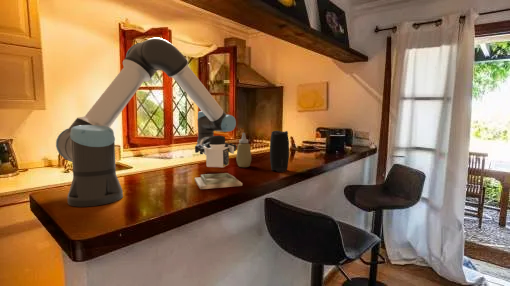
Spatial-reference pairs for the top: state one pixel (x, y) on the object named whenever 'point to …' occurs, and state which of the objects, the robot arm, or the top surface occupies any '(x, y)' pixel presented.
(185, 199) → the top surface
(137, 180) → the top surface
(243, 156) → the squeeze bottle
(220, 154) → the medicine bottle
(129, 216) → the top surface
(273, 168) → the portable speaker
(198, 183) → the collar tray
